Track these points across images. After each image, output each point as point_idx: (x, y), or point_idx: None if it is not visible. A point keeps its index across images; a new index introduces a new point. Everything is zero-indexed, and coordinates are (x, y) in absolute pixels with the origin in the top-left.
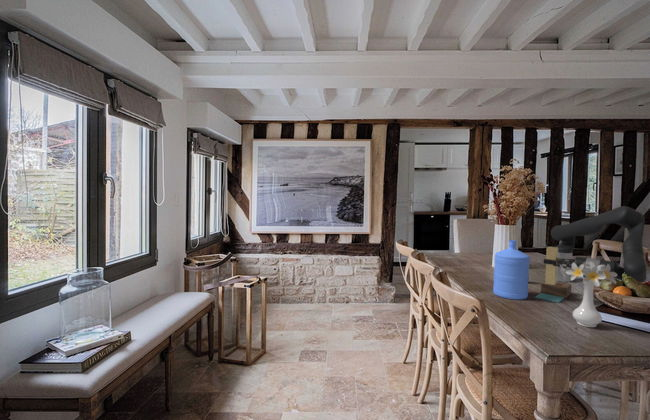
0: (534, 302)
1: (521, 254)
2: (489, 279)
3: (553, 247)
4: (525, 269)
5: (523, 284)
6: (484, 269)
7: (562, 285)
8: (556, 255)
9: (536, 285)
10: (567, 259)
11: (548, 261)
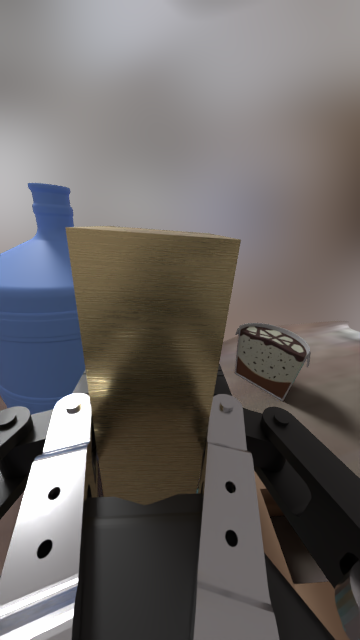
0: (4, 524)
1: (3, 265)
2: (225, 345)
3: (157, 231)
4: (2, 357)
5: None
6: (297, 324)
7: (324, 584)
8: (126, 364)
9: (315, 433)
10: (196, 618)
11: (82, 382)
